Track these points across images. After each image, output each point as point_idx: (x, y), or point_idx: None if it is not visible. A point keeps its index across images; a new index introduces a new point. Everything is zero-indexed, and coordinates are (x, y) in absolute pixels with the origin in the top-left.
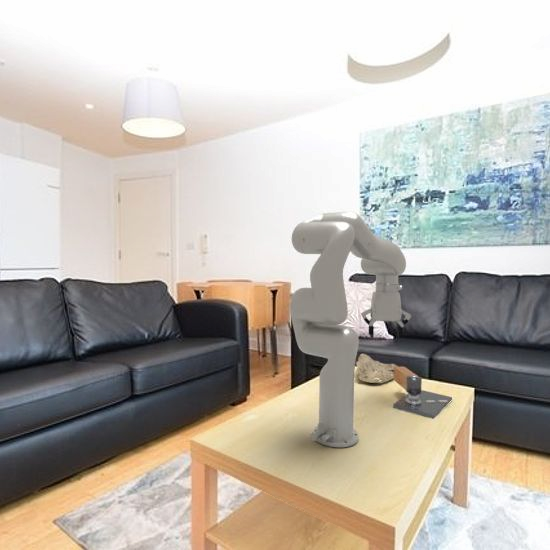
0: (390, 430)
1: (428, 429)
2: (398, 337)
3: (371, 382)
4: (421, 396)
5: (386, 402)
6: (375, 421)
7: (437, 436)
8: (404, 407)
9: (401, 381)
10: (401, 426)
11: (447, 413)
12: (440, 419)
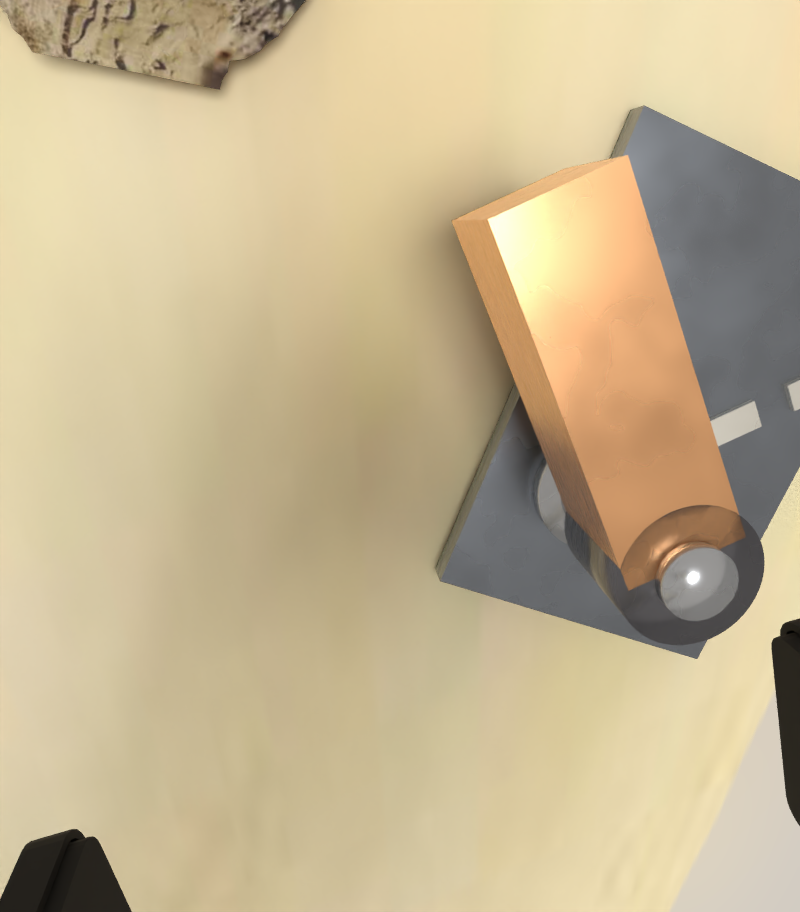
0: (427, 889)
1: (633, 795)
2: (794, 803)
3: (190, 78)
4: None
5: (380, 486)
6: (334, 822)
7: (666, 851)
8: (519, 603)
9: (542, 425)
10: (487, 821)
11: (794, 523)
12: (727, 637)
